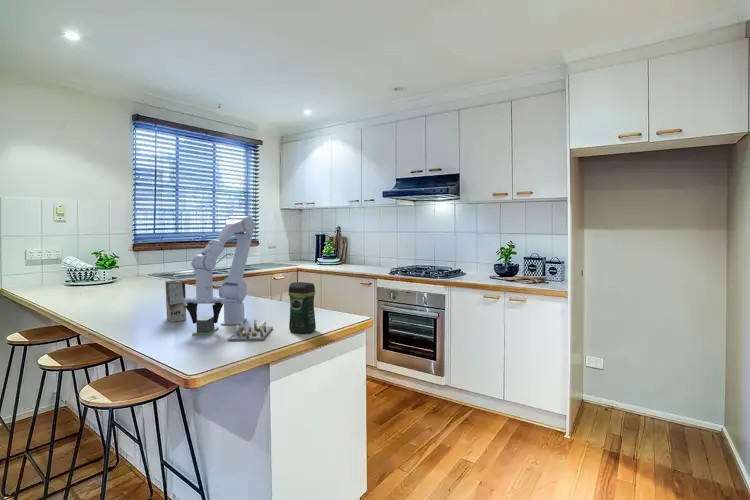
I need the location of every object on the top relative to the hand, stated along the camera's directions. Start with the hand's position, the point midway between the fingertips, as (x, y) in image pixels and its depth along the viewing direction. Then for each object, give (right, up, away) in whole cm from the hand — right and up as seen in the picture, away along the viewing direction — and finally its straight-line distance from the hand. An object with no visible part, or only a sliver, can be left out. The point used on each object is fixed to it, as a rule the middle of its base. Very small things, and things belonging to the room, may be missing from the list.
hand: (205, 322), depth 151 cm
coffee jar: (+36, -4, +2) cm, 36 cm away
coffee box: (-21, -2, +20) cm, 29 cm away
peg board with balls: (+18, -4, -3) cm, 19 cm away
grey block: (0, -4, 0) cm, 4 cm away
